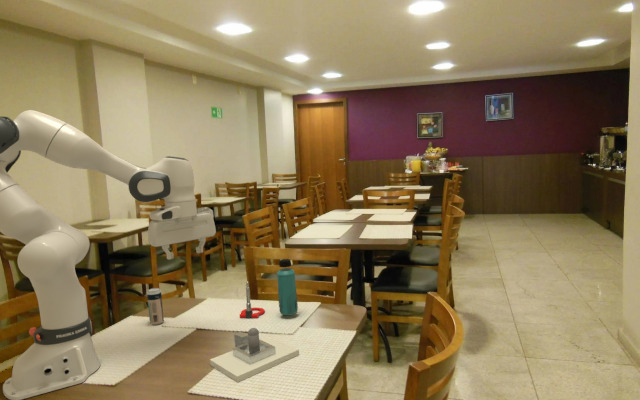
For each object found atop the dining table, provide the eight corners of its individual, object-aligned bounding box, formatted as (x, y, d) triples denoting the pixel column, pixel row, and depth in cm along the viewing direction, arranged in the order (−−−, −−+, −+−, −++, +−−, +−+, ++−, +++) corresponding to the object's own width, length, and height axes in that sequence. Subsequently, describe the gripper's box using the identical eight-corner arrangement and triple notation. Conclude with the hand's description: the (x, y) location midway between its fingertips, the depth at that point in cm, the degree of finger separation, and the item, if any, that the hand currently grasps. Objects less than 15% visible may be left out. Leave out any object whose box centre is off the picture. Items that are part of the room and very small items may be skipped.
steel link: (225, 350, 127) (224, 337, 126) (250, 341, 132) (249, 328, 132) (250, 364, 118) (249, 350, 117) (275, 353, 123) (274, 339, 123)
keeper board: (237, 382, 112) (235, 347, 111) (210, 364, 122) (207, 333, 121) (299, 354, 125) (297, 323, 124) (269, 341, 136) (267, 312, 135)
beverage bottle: (297, 319, 152) (294, 261, 150) (278, 319, 153) (274, 262, 150) (298, 312, 159) (295, 257, 157) (280, 313, 159) (276, 257, 157)
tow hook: (245, 310, 165) (236, 318, 156) (243, 275, 164) (235, 282, 155) (267, 310, 164) (260, 318, 155) (265, 275, 163) (258, 282, 154)
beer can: (167, 321, 157) (164, 288, 155) (155, 326, 153) (152, 292, 151) (158, 319, 159) (155, 287, 158) (146, 324, 155) (143, 290, 154)
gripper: (207, 205, 143) (211, 248, 145) (143, 214, 129) (148, 261, 131) (217, 206, 138) (221, 250, 140) (152, 215, 125) (157, 264, 126)
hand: (185, 255), depth 135 cm, fingers open, 8 cm apart
